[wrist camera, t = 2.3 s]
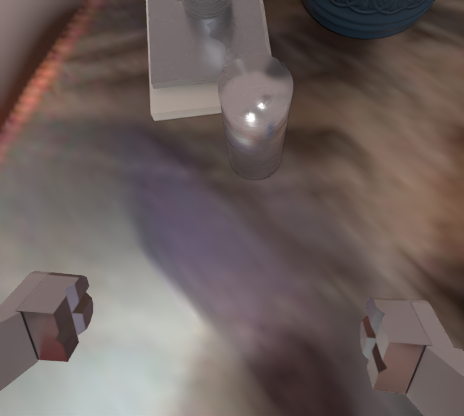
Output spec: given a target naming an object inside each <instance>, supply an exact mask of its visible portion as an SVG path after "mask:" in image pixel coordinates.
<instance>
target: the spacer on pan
mask: <svg viewBox="0 0 464 416" xmlns="http://www.w3.org/2000/svg"><path fill="white" fill-rule="evenodd" d="M182 1H183V5H184V8H185V10H186V11H187V12H188V13H189V14H190V15H191V16H193V17H195V18H198V19H203V20H208V19H213V18H217V17H219V16H221V15H222V14H224V13H225V12H226V11H227V10H228V8H229V7H230V5H231V2H232V0H182Z"/></svg>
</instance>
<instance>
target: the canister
mask: <svg viewBox="0 0 464 416" xmlns="http://www.w3.org/2000/svg"><path fill="white" fill-rule="evenodd" d="M302 1H303V3H304V5H305V7H306V9H307V10H308V12H309V13H310V14H311V15H312V16H313V18H314V19H316V20H317V21H318V22H319V23H320V24H322V25H323V26H325V27H326V28H328V29H330V30H332V31H334V32H336V33H339V34H341V35H345V36H348V37H353V38H361V39H375V38H383V37H388V36H391V35H395V34H397V33H400V32H402V31H404V30H406V29H408V28H409V27H411V26H412V25H413V24H415V23H416V22H417V21H418V20H419V19H420V18H421V17H422V16H423V14H424V13H425V12H426V11H427V10H428V9H429V8H430V7H431V6H432V5H433V3H434V2H435V0H302Z"/></svg>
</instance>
